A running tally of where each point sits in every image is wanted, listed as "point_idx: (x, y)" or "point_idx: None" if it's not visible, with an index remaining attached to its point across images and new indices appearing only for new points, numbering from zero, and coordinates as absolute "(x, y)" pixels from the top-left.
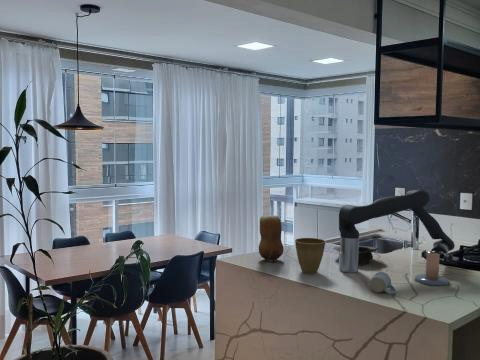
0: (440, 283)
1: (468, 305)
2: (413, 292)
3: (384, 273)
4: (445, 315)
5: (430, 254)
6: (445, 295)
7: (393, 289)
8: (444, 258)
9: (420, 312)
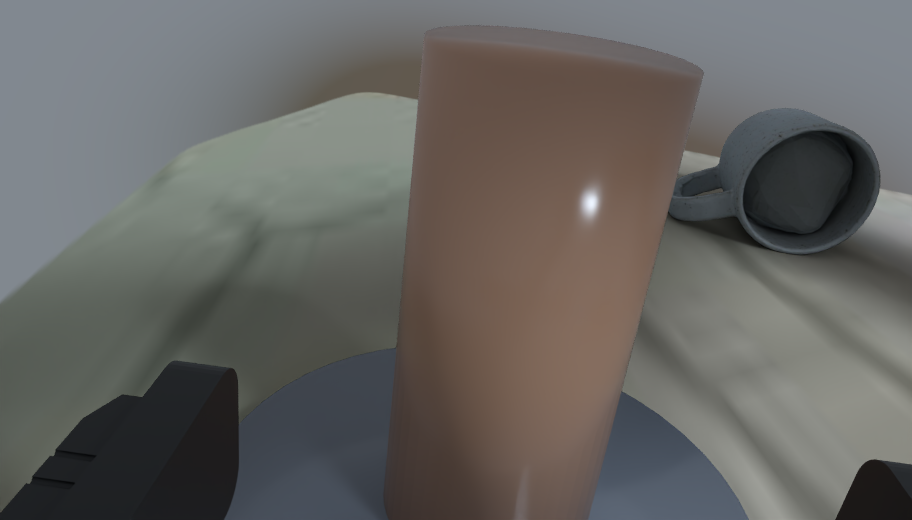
0: (361, 356)
1: (217, 160)
2: None
3: (802, 121)
4: (370, 110)
5: (591, 38)
6: (338, 232)
7: (693, 208)
8: (222, 372)
9: None
